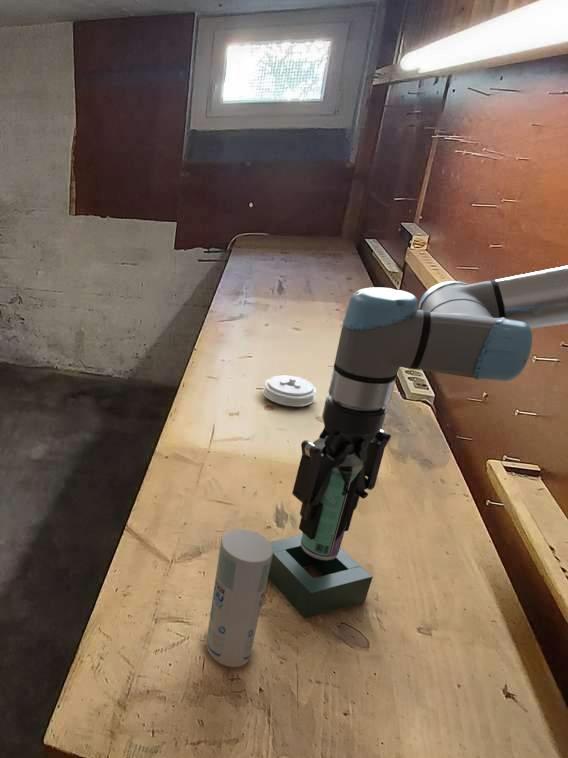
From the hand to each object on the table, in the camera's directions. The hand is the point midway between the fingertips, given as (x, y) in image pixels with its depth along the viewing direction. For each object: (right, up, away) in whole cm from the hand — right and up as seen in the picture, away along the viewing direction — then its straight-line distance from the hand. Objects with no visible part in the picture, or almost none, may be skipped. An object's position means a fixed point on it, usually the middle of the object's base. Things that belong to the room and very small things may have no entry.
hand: (323, 529), depth 88 cm
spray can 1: (-17, -17, -5) cm, 24 cm away
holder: (0, -11, +5) cm, 12 cm away
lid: (+24, +19, +64) cm, 71 cm away
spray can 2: (0, -4, +2) cm, 4 cm away
